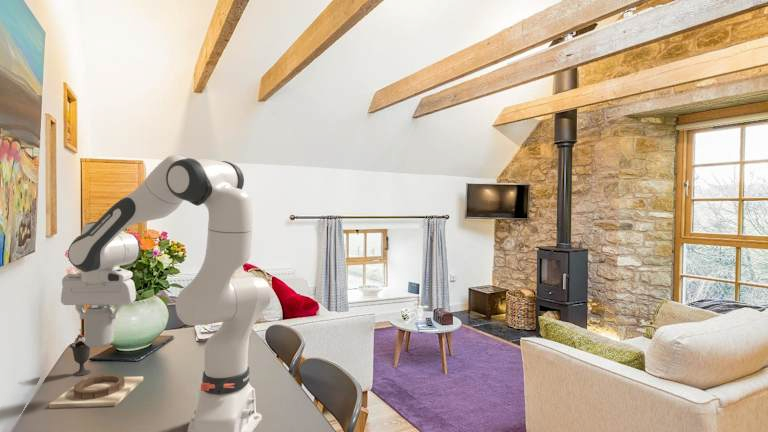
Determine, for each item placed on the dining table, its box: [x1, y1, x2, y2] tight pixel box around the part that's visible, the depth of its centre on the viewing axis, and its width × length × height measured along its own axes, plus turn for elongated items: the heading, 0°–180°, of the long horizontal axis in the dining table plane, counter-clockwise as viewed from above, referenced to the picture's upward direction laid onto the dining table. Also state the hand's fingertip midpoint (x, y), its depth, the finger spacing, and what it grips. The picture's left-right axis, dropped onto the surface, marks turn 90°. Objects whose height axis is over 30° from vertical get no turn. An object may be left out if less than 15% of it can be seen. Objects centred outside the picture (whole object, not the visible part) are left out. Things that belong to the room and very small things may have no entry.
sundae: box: [69, 328, 91, 377], centre depth 149 cm, size 7×7×15 cm
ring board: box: [48, 373, 144, 409], centre depth 135 cm, size 18×18×3 cm
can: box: [84, 305, 115, 349], centre depth 134 cm, size 8×8×12 cm
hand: (99, 318), depth 134 cm, fingers closed on can, 7 cm apart
